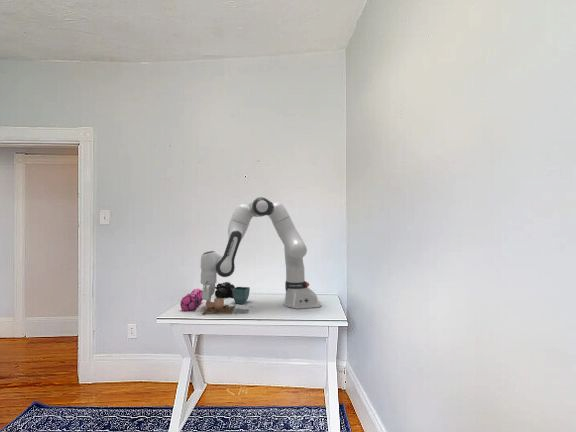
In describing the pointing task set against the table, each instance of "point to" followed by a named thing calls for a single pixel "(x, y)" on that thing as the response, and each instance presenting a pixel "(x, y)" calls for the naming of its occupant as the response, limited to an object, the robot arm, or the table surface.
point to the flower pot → (240, 294)
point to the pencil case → (191, 300)
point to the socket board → (219, 310)
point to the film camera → (224, 290)
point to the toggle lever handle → (216, 303)
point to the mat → (241, 311)
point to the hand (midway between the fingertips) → (208, 304)
